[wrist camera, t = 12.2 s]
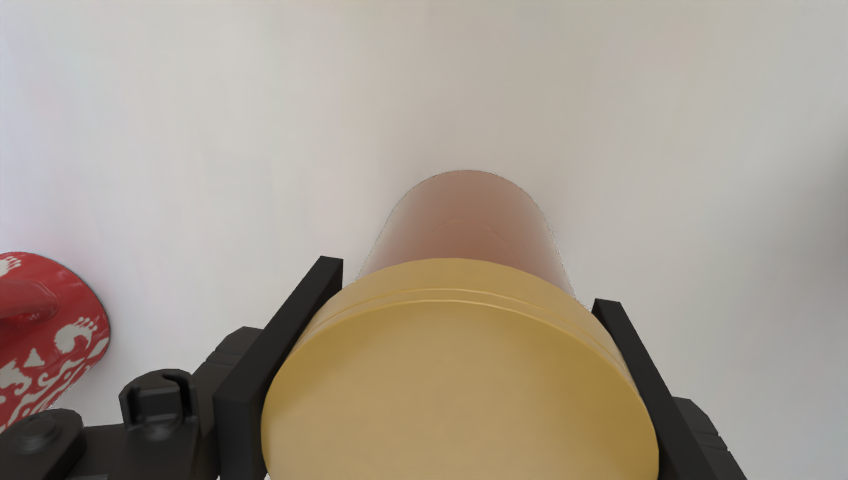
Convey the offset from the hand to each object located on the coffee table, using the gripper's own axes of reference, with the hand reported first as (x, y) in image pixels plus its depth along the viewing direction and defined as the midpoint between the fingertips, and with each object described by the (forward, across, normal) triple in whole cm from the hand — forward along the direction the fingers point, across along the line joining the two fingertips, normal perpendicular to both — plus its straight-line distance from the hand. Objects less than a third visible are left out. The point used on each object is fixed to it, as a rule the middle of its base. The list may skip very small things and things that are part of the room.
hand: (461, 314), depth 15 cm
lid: (-6, 0, 0) cm, 6 cm away
